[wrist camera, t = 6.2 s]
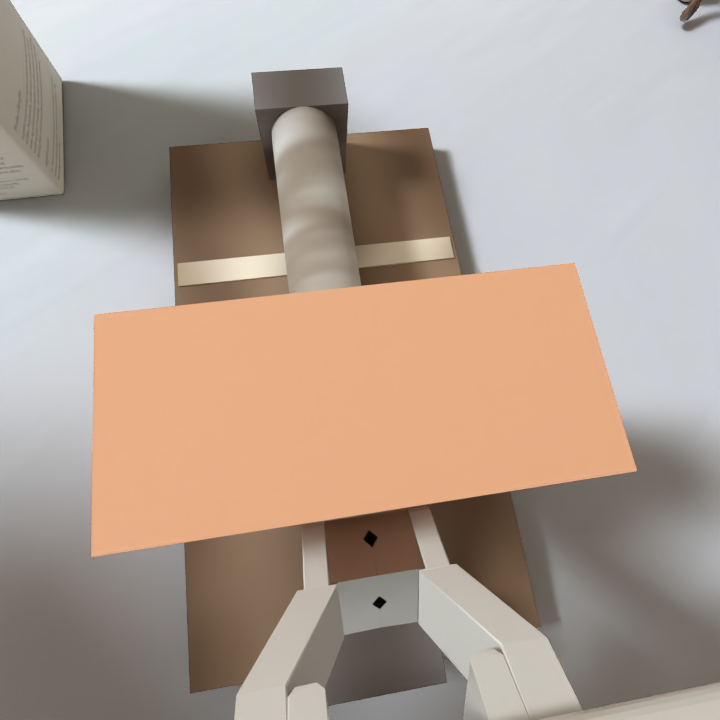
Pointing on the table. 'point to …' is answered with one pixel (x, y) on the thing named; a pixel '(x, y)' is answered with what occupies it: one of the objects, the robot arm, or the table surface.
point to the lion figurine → (689, 9)
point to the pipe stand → (304, 274)
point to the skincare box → (28, 114)
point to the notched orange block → (344, 404)
